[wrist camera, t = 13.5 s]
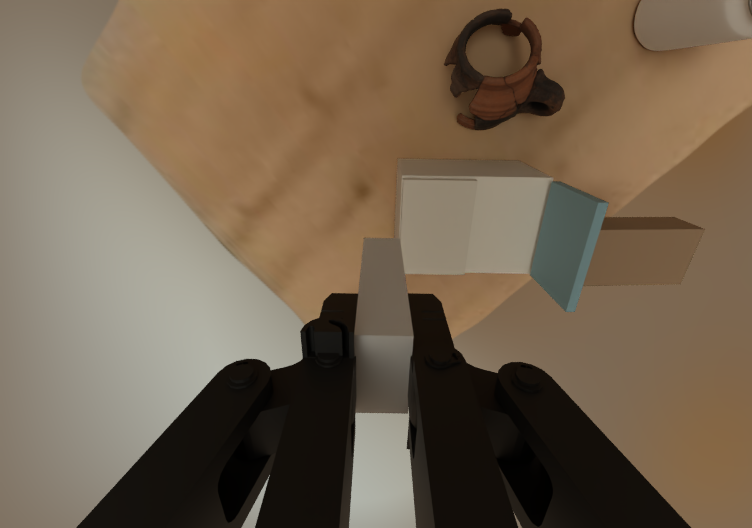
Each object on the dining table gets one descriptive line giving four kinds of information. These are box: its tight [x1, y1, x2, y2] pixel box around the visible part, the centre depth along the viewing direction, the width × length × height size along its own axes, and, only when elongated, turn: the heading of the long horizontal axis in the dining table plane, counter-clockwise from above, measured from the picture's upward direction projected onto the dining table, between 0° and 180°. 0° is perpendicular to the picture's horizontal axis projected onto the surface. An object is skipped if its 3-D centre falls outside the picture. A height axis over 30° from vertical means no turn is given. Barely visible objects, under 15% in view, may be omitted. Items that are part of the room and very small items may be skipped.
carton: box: [394, 159, 553, 275], centre depth 39 cm, size 14×10×10 cm
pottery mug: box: [444, 9, 565, 130], centre depth 35 cm, size 12×10×8 cm
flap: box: [530, 182, 705, 312], centre depth 32 cm, size 7×10×10 cm
